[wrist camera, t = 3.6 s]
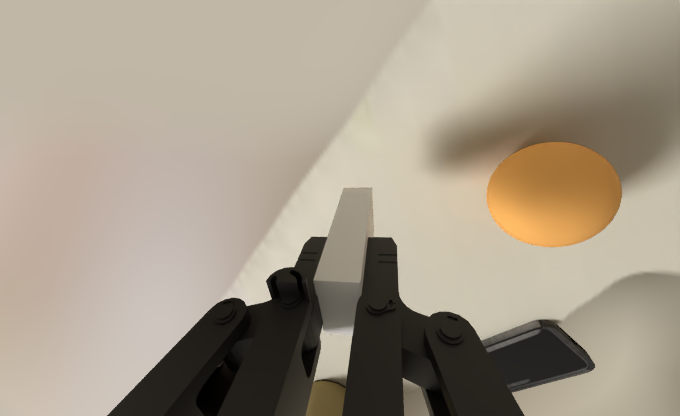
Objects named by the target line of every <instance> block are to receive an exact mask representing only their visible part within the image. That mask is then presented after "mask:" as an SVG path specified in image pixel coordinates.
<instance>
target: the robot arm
mask: <svg viewBox="0 0 680 416" xmlns="http://www.w3.org/2000/svg"><path fill="white" fill-rule="evenodd" d="M373 233H374V225H373V199H372V188H344V189H343V192H342V195H341V198H340V201H339V204H338V207H337V210H336V213H335V216H334V219H333V222H332V225H331V228H330V231H329V234H328V237H311V238H310V239H309V240H308V241H307V242H306V243H305V244H304V246H303V249H302V251H301V254H300V255H299V258H298V261H297V262H296V265H295V267H289V268H283V269H280V270H278V271H276V272H274V273H273V274H272V275H270V277H269V278H268V279H267V280H266V283H267V286H268V289H269V292H270V295H271V297H272V300H270V301H267V302H264V303H260V304H255V305H250V306H246V304H245V302H244V301H243V300H241V299H239V298H230V299H225V300H223V301H221V302H219V303H217V304H216V305H215V306H213V307H212V308H211V309H210V310H209V311H208V312H207V313H206V314H205V315H204V316H203V317H202V318H201V319H200V320H199V322H197V324H195V325H194V327H193V328H192V329H191V330H190V331H189V332H188V333H187V334H186V335H185V336H184V337H183V338H182V339H181V340H180V341H179V342H178V343H177V344H176V345H175V346H174V347H173V348H172V349H171V350H170V351H169V352H168V353H167V354H166V355H165V356H164V358H163V359H162V360H161V361H160V362H159V363H158V364H157V365H156V366H155V367H154V368H153V369H152V370H151V371H150V372H149V373H148V374H147V375H146V376H145V377H144V379H142V380H141V382H139V383H138V384H137V385H136V386H135V388H134V389H133V390H132V391H131V392H130V393H129V394H128V395H127V396H126V397H125V398H124V399H123V400H122V401H121V402H120V403H119V404H118V405H117V406H116V407H115V408H114V409H113V410H112V411H111V412H110V414H109V415H107V416H306V411H307V407H308V403H309V398H310V394H311V389H312V385H313V381H314V376H315V372H316V367H317V363H318V359H319V354H320V350H321V341H320V333H321V329H322V325H323V330H324V333H326V334H337V335H348V336H352V344H351V352H350V359H349V367H348V375H347V382H346V390H345V397H344V405H343V413H342V416H404V405H403V378H404V379H406V380H408V381H410V382H413V383H415V384H417V385H419V386H421V388H422V392H423V395H424V398H425V401H426V404H427V408H428V411H429V414H430V416H524V414H523V412H522V411H521V409H520V407H519V406H518V404H517V402H516V400H515V399H514V397H513V395H512V393H511V392H510V390H509V388H508V386H507V385H506V383H505V381H504V380H503V378H502V376H501V374H500V373H499V371H498V369H497V368H496V366H495V364H494V362H493V361H492V359H491V357H490V355H489V354H488V352H487V350H486V349H485V347H484V345H483V343H482V342H481V340H480V338H479V336H478V335H477V333H476V331H475V330H474V328H473V327H472V326H471V325H470V323H469V322H468V321H467V320H465V319H464V318H462V317H461V316H460V315H457V314H454V313H451V312H438V313H434V314H432V315H431V316H430V317H428V316H425V315H422V314H419V313H417V312H415V311H413V310H411V309H409V308H408V307H407V306H406V305H405V304H404V303H403V302H402V300H401V299H400V297H399V292H398V266H397V245H396V244H395V242H394V241H393V239H392V238H385V237H373Z"/></svg>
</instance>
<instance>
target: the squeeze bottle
mask: <svg viewBox="0 0 680 416" xmlns="http://www.w3.org/2000/svg"><path fill="white" fill-rule="evenodd" d="M345 390H346V388H345V387H343V386H341V385H339V384H336V383H333V382H328V381H318V382H314V383H313V385H312V389H311V394H310V398H309V403H308V407H307V411H306V416H342V413H343V405H344V397H345Z"/></svg>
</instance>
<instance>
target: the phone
mask: <svg viewBox="0 0 680 416" xmlns="http://www.w3.org/2000/svg"><path fill="white" fill-rule="evenodd" d="M481 342H482V343H483V345H484V347H485V349H486V350H487V352H488V354H489V355H490V357H491V359H492V361H493V362H494V364H495V366H496V368H497V369H498V371H499V373H500V374H501V376H502V378H503V380H504V381H505V383H506V385H507V386H508V388H509V390H510V392H511V393H512V392H515V391H519V390H523V389H527V388H531V387H535V386H538V385H542V384H546V383H549V382H553V381H557V380H561V379H565V378H569V377H572V376H577V375H580V374H584V373H587V372H590V371H592V370H593V369H594V368H595V364H594V363H593V361H592V360H591V358H590V356H589V355H588V353H587V352H586V351H585V350H584V349H583V348H582V347H581V346H580V345H579V344H578V343H577V342H576V341H574V340H573V339H572V338H571V337H570V336H569V335H568V334H567V333H566V332H565V331H564V330H563V329H562V328H560V327H559V326H558V325H555V324H554V323H552V322H551V321H548V320H535V321H532V322H529V323H526V324H524V325H521V326H519V327H516V328H513V329H511V330H508V331H506V332H503V333H500V334H498V335H495V336H493V337H490V338H488V339H485V340H482V341H481Z"/></svg>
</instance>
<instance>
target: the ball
mask: <svg viewBox="0 0 680 416" xmlns="http://www.w3.org/2000/svg"><path fill="white" fill-rule="evenodd" d="M621 197H622V189H621V183H620V179H619V177H618V175H617V173H616V171H615V169H614V168H613V166H612V165H611V164H610V163H609V162H608V161H607V160H606V159H605V158H604V157H603V156H601V155H600V154H598V153H596V152H595V151H593V150H591V149H589V148H587V147H584V146H581V145H577V144H573V143H566V142H546V143H539V144H535V145H532V146H528V147H526V148H523V149H521V150H519V151H517V152H515V153H513V154H512V155H510V156H509V157H508V158H506V159H505V160H504V161H503V162H502V163H501V164H500V165H499V166H498V167H497V169H496V170H495V171H494V173H493V175H492V176H491V179H490V181H489V184H488V188H487V204H488V208H489V211H490V213H491V215H492V217H493V219H494V220H495V222H496V223H497V224H498V225H499V227H500V228H501V229H503V230H504V231H505V232H506V233H507V234H509V235H510V236H512V237H514V238H516V239H517V240H520V241H522V242H525V243H528V244H531V245H536V246H543V247H561V246H568V245H573V244H577V243H580V242H582V241H585V240H587V239H589V238H591V237H593V236H595V235H596V234H598V233H599V232H601V231H602V230H603V229H604V228H605V227H606V226H607V225H608V224H609V223H610V222H611V221H612V220H613V218H614V216H615V215H616V213H617V211H618V209H619V206H620V202H621Z"/></svg>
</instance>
